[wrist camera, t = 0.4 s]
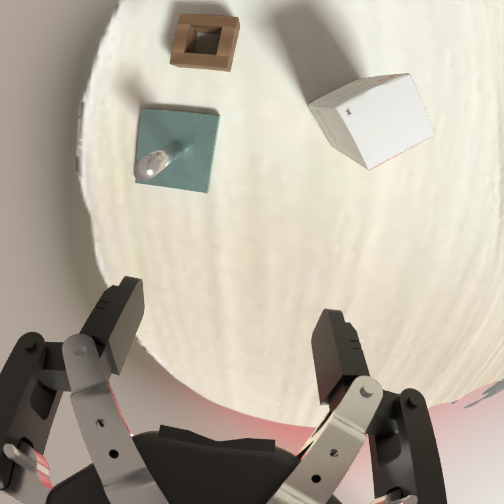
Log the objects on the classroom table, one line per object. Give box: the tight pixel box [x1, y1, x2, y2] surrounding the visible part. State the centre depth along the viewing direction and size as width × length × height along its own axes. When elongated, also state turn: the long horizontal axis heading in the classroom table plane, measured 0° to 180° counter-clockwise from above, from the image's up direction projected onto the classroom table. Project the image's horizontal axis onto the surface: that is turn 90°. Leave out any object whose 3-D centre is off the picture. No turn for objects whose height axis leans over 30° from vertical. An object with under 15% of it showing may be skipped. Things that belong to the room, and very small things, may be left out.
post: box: [134, 109, 220, 193], centre depth 29 cm, size 10×10×11 cm
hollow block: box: [170, 14, 240, 72], centre depth 25 cm, size 6×6×4 cm
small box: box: [308, 73, 435, 170], centre depth 25 cm, size 8×6×13 cm
